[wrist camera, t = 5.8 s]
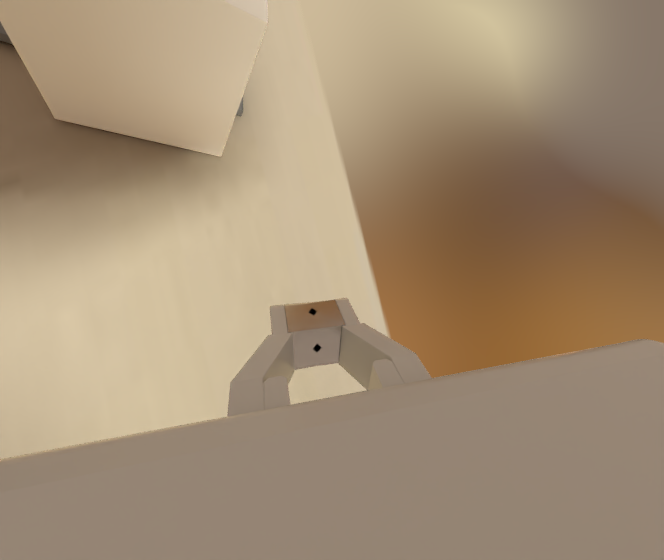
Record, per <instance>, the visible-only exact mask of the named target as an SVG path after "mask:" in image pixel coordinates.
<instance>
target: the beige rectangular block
mask: <svg viewBox="0 0 664 560" xmlns="http://www.w3.org/2000/svg"><path fill="white" fill-rule="evenodd" d="M0 22H1V24H2V26H3V27H4V29H5V31H6V33H7V34H8V36H9V38H10V40H11V42H12V43H13V45H14V47H15V49H16V50H17V52H18V54H19V56H20V58H21V59H22V61H23V63H24V65H25V66H26V68H27V70H28V72H29V74H30V75H31V77H32V79H33V81H34V82H35V84H36V86H37V88H38V90H39V91H40V93H41V95H42V97H43V98H44V100H45V102H46V104H47V106H48V107H49V109H50V111H51V113H52V114H53V116H54V118H55V119H58V120H62V121H67V122H71V123H75V124H80V125H84V126H88V127H93V128H97V129H101V130H106V131H110V132H115V133H119V134H123V135H128V136H132V137H136V138H141V139H145V140H149V141H154V142H158V143H163V144H167V145H171V146H176V147H180V148H184V149H189V150H193V151H198V152H202V153H206V154H211V155H215V156H219V157H221V156H222V153H223V151H224V148H225V145H226V142H227V139H228V136H229V133H230V131H231V128H232V125H233V122H234V119H235V116H236V114H237V111H238V108H239V105H240V102H241V99H242V97H243V94H244V91H245V88H246V85H247V82H248V79H249V77H250V74H251V71H252V68H253V65H254V62H255V60H256V57H257V54H258V51H259V48H260V45H261V43H262V40H263V37H264V34H265V31H266V28H267V25H268V0H0Z"/></svg>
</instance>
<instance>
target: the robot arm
mask: <svg viewBox="0 0 664 560" xmlns="http://www.w3.org/2000/svg"><path fill="white" fill-rule="evenodd" d="M270 316H271V329H272V335H268V336H267V337H266V339H265V340H264V341H263V342H262V344H261V345H260V346H259V347H258V349H257V350H256V351H255V352H254V354H253V355H252V356H251V358H250V359H249V360H248V361H247V363H246V364H245V365H244V366H243V368H242V369H241V370H240V371H239V373H238V374H237V375H236V376H235V378H234V379H233V380H232V381H231V383H230V393H229V404H228V415H227V417H223V418H218V419H213V420H207V421H202V422H196V423H191V424H186V425H180V426H175V427H170V428H164V429H159V430H154V431H148V432H143V433H138V434H132V435H127V436H122V437H116V438H111V439H106V440H100V441H95V442H89V443H84V444H79V445H73V446H68V447H63V448H57V449H52V450H47V451H41V452H36V453H31V454H25V455H20V456H15V457H9V458H4V459H0V560H664V343H661V342H657V341H652V340H647V339H640V340H632V341H628V342H623V343H618V344H613V345H607V346H602V347H597V348H592V349H586V350H582V351H576V352H570V353H565V354H560V355H554V356H549V357H543V358H539V359H533V360H527V361H522V362H517V363H512V364H506V365H501V366H496V367H490V368H485V369H480V370H475V371H469V372H463V373H458V374H453V375H448V376H442V377H437V378H431V376H430V375H429V373H428V372H427V370H426V369H425V367H424V366H423V364H422V363H421V361H420V359H419V358H418V357H417V355H416V353H414V352H412V351H411V350H409V349H407V348H406V347H404V346H402V345H400V344H399V343H397V342H395V341H393V340H392V339H390V338H388V337H387V336H385V335H383V334H381V333H380V332H378V331H376V330H375V329H373V328H371V327H369V326H368V325H366V324H364V323H361V324H360V322H359V320H358V318H357V316H356V314H355V312H354V310H353V308H352V306H351V304H350V302H349V300H348V299H347V298H341V299H334V300H328V301H319V302H307V303H295V304H284V305H274V306H270ZM334 363H339V365H341V366H342V367H343V368H344V369H345V370H346V371H347V372H348V373H349V374H350V375H351V376H353V377H354V378H355V379H356V380H357V381H358V382H359V383H360V384H361V385H362V386H363V387H364V388H366V389H367V391H362V392H356V393H351V394H346V395H340V396H335V397H330V398H324V399H319V400H314V401H308V402H303V403H298V404H292V405H290V398H289V391H288V383H289V381H290V379H291V377H292V375H293V373H294V370H297V369H302V368H307V367H313V366H319V365H327V364H334Z"/></svg>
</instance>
